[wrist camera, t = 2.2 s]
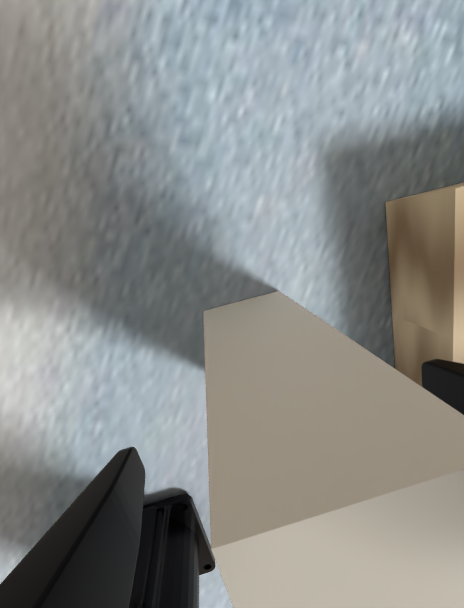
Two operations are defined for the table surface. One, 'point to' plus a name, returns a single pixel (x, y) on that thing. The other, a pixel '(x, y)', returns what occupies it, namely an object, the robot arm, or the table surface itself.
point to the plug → (326, 468)
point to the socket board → (427, 277)
